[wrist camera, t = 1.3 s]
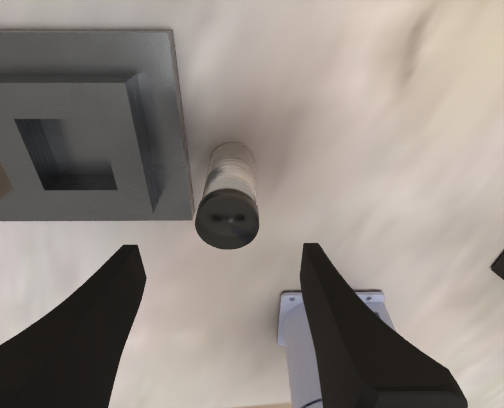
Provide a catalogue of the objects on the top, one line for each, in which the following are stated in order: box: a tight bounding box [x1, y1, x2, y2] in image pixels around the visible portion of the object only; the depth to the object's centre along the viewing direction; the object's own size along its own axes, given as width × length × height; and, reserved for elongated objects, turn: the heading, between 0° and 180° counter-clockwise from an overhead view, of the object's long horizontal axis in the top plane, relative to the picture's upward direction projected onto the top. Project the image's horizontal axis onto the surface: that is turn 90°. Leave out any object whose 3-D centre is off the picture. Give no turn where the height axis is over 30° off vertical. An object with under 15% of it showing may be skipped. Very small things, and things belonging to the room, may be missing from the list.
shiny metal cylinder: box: [195, 142, 259, 250], centre depth 19 cm, size 3×3×7 cm
